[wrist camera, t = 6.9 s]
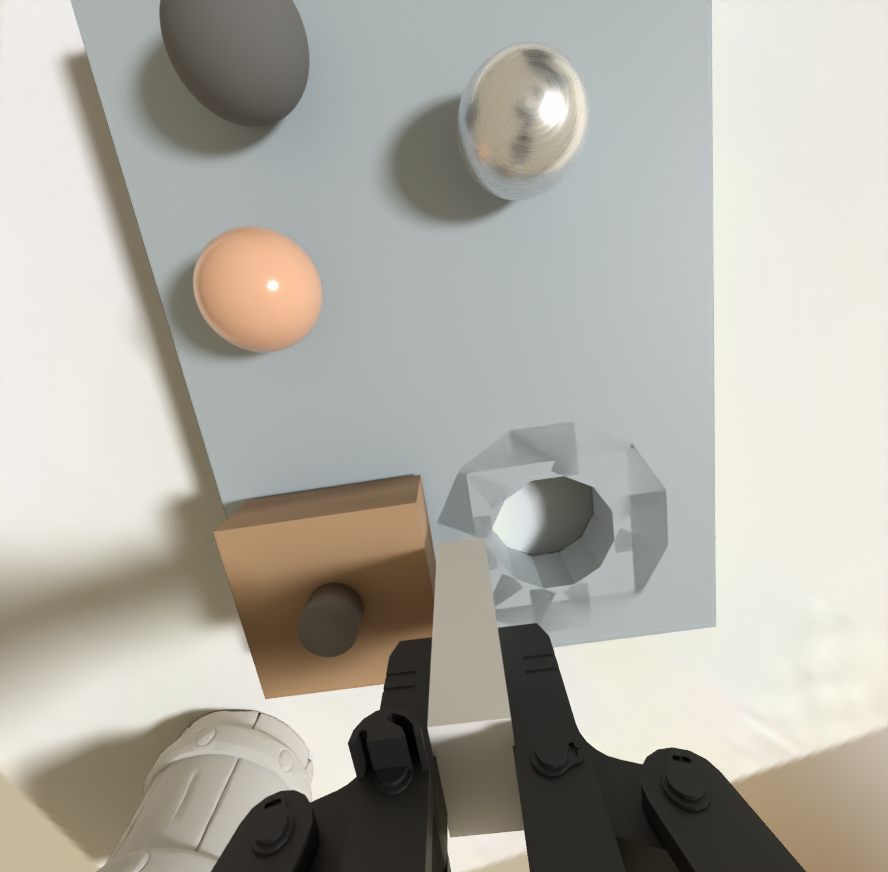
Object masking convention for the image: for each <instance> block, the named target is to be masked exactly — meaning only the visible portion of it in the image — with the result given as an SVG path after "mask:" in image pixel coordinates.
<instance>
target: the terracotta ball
mask: <svg viewBox="0 0 888 872" xmlns="http://www.w3.org/2000/svg"><path fill="white" fill-rule="evenodd" d="M193 292H194V296H195V300H196V303H197V306H198V308H199V310H200V312H201V314H202V316H203V318H204V319H205V321H206V322H207V324H208V325H209V326H210V327H211V328H212V329H213V330H214V331H215V332H216V333H217V334H218V335H219V336H221V337H222V338H223V339H224V340H226V341H228V342H229V343H231V344H233V345H235V346H237V347H239V348H242V349H246V350H249V351H254V352H277V351H281V350H284V349H287V348H290V347H292V346H294V345H296V344H297V343H299V342H300V341H302V340H303V339H304V338H305V337H306V336H307V335H308V334H309V333H310V332H311V330H312V329H313V328H314V326H315V324H316V323H317V321H318V318H319V316H320V313H321V309H322V302H323V290H322V283H321V280H320V276H319V274H318V271H317V269H316V267H315V265H314V263H313V261H312V260H311V258H310V257H309V256H308V254H307V253H306V252H305V251H304V250H303V249H302V248H301V246H299V245H298V244H297V243H296V242H295V241H293V240H292V239H290V238H289V237H287V236H286V235H284V234H282V233H280V232H278V231H275V230H272V229H269V228H265V227H259V226H243V227H237V228H233V229H230V230H227V231H225V232H223V233H221V234H219V235H218V236H216V237H215V238H213V239H212V240H211V241H210V242H209V243H208V244H207V245H206V246H205V247H204V249H203V250H202V252H201V253H200V255H199V257H198V259H197V262H196V265H195V268H194V273H193Z"/></svg>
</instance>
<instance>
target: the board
mask: <svg viewBox="0 0 888 872" xmlns="http://www.w3.org/2000/svg"><path fill="white" fill-rule="evenodd" d="M293 2H294V4H295V6H296V8H297V10H298V12H299V14H300V17H301V19H302V22H303V25H304V28H305V31H306V35H307V40H308V47H309V59H310V64H309V75H308V80H307V85H306V88H305V91H304V93H303V95H302V97H301V99H300V101H299V102H298V104H297V106H296V107H295V108H294V109H293V110H292V111H291V112H290V113H289V114H288V115H287V116H286V117H285V118H283V119H281V120H280V121H278V122H276V123H273V124H270V125H267V126H260V127H251V126H242V125H238V124H235V123H232V122H229V121H227V120H225V119H223V118H221V117H219V116H217V115H216V114H214V113H213V112H211V111H210V110H208V109H207V108H206V107H205V106H203V105H202V104H201V103H200V102H199V101H198V100H197V99H196V98H195V97H194V96H193V95H192V94H191V93H190V91H189V90H188V89H187V88H186V86H185V85H184V84H183V82H182V81H181V79H180V78H179V76H178V75H177V73H176V71H175V69H174V68H173V65H172V63H171V61H170V59H169V56H168V54H167V51H166V48H165V45H164V42H163V37H162V33H161V27H160V18H159V6H160V0H71V4H72V7H73V10H74V14H75V17H76V20H77V23H78V27H79V30H80V33H81V37H82V40H83V43H84V47H85V50H86V53H87V57H88V60H89V63H90V67H91V70H92V73H93V76H94V80H95V83H96V86H97V90H98V93H99V96H100V100H101V103H102V106H103V110H104V113H105V116H106V120H107V123H108V126H109V129H110V133H111V136H112V139H113V143H114V146H115V149H116V153H117V156H118V159H119V163H120V166H121V169H122V172H123V176H124V179H125V182H126V186H127V189H128V192H129V196H130V199H131V202H132V206H133V209H134V212H135V216H136V219H137V222H138V225H139V229H140V232H141V235H142V239H143V242H144V245H145V249H146V252H147V255H148V259H149V262H150V265H151V269H152V272H153V275H154V278H155V282H156V285H157V288H158V292H159V295H160V298H161V302H162V305H163V308H164V312H165V315H166V318H167V322H168V325H169V328H170V331H171V335H172V338H173V341H174V345H175V348H176V351H177V355H178V358H179V361H180V365H181V368H182V371H183V375H184V378H185V381H186V384H187V388H188V391H189V394H190V398H191V401H192V404H193V408H194V411H195V414H196V418H197V421H198V424H199V427H200V431H201V434H202V437H203V441H204V444H205V447H206V451H207V454H208V457H209V461H210V464H211V467H212V471H213V474H214V477H215V480H216V484H217V487H218V490H219V494H220V497H221V500H222V504H223V507H224V510H225V514H226V517H227V519H228V518H229V517H230V516H231V515H232V514H233V513H234V512H235V511H236V510H237V509H238V508H239V507H241V506H242V505H243V504H244V503H245V502H246V501H247V500H253V499H260V498H267V497H274V496H280V495H287V494H294V493H301V492H308V491H314V490H321V489H328V488H335V487H342V486H348V485H355V484H362V483H369V482H376V481H382V480H389V479H396V478H403V477H410V476H417V475H421V479H422V485H423V490H424V496H425V501H426V507H427V512H428V518H429V524H430V529H431V535H432V540H433V546H434V551H435V557H436V560H437V544H441V543H449V542H456V541H464V540H471V539H479V538H484V539H485V545H486V552H487V559H488V566H489V572H490V579H491V586H492V593H493V599H494V606H495V613H496V620H497V627H498V628H499V627H507V626H515V625H524V624H532V623H537V624H538V625H539V626H540V627H541V628H542V629H543V630H544V631H545V632H546V633H547V634H548V635H549V637H550V640H551V643H552V647H560V646H567V645H575V644H583V643H591V642H599V641H606V640H614V639H622V638H630V637H638V636H646V635H653V634H661V633H669V632H677V631H685V630H692V629H700V628H708V627H716V582H715V434H714V286H713V138H712V0H293ZM524 41H536V42H542V43H546V44H549V45H551V46H554V47H555V48H557V49H559V50H560V51H562V52H563V53H564V54H566V55H567V56H568V57H569V58H570V59H571V60H572V61H573V63H574V64H575V65H576V67H577V68H578V69H579V71H580V73H581V75H582V77H583V79H584V82H585V84H586V87H587V91H588V95H589V102H590V126H589V131H588V136H587V140H586V143H585V146H584V149H583V151H582V154H581V156H580V158H579V160H578V161H577V163H576V164H575V166H574V168H573V169H572V171H571V172H570V173H569V174H568V176H567V177H566V178H565V179H564V180H563V181H562V182H561V183H560V184H558V185H557V186H556V187H554V188H553V189H552V190H550V191H549V192H547V193H545V194H543V195H541V196H538V197H536V198H532V199H528V200H519V201H516V200H506V199H502V198H499V197H496V196H494V195H492V194H490V193H488V192H487V191H486V190H484V189H483V188H482V187H481V186H479V185H478V184H477V183H476V182H475V180H474V179H473V178H472V177H471V175H470V174H469V172H468V170H467V169H466V167H465V165H464V163H463V160H462V158H461V155H460V151H459V147H458V141H457V116H458V110H459V105H460V102H461V98H462V95H463V93H464V90H465V88H466V86H467V84H468V82H469V80H470V79H471V77H472V75H473V74H474V72H475V71H476V70H477V68H478V67H479V66H480V65H481V64H482V63H483V62H484V61H485V60H486V59H487V58H488V57H490V56H491V55H492V54H493V53H495V52H496V51H498V50H499V49H501V48H503V47H505V46H508V45H510V44H514V43H517V42H524ZM243 226H259V227H265V228H269V229H272V230H275V231H278V232H280V233H282V234H284V235H286V236H287V237H289V238H290V239H292V240H293V241H295V242H296V243H297V244H298V245H299V246H301V248H302V249H303V250H304V251H305V252H306V253H307V254H308V256H309V257H310V258H311V260H312V261H313V263H314V265H315V267H316V269H317V271H318V274H319V276H320V280H321V283H322V290H323V302H322V309H321V313H320V316H319V318H318V321H317V323H316V324H315V326H314V328H313V329H312V330H311V332H310V333H309V334H308V335H307V336H306V337H305V338H304V339H303V340H302V341H300V342H299V343H297V344H296V345H294V346H292V347H290V348H287V349H284V350H281V351H277V352H254V351H249V350H246V349H242V348H239V347H237V346H235V345H233V344H231V343H229V342H228V341H226V340H224V339H223V338H222V337H221V336H219V335H218V334H217V333H216V332H215V331H214V330H213V329H212V328H211V327H210V326H209V325H208V324H207V322H206V321H205V319H204V318H203V316H202V314H201V312H200V310H199V308H198V306H197V303H196V300H195V296H194V292H193V273H194V268H195V265H196V262H197V259H198V257H199V255H200V253H201V252H202V250H203V249H204V247H205V246H206V245H207V244H208V243H209V242H210V241H211V240H212V239H213V238H215V237H216V236H218V235H219V234H221V233H223V232H225V231H227V230H230V229H233V228H237V227H243ZM562 476H565V477H568V478H570V479H573V480H576V481H578V482H581V483H584V484H586V485H589V486H592V497H593V509H594V513H593V515H592V517H591V519H590V521H589V523H588V525H587V527H586V529H585V531H584V533H583V535H582V537H580V538H579V539H577V540H576V541H574V542H573V543H571V544H570V545H569V546H567V547H566V548H564V549H563V550H561V551H560V552H556V553H549V554H541V555H534V556H531V555H528V554H525V553H523V552H520V551H517V550H514V549H511V548H508V547H506V545H505V544H504V543H503V542H502V541H501V540H500V538H499V537H498V536H497V535H496V534H495V533H494V531H493V530H492V527H493V525H494V522H495V520H496V518H497V516H498V513H499V511H500V509H501V507H502V505H503V502H504V500H505V499H507V498H508V497H510V496H511V495H512V494H514V493H515V492H516V491H518V490H519V489H521V488H522V487H523V486H525V485H526V484H527V483H529V482H530V481H534V480H541V479H548V478H555V477H562Z"/></svg>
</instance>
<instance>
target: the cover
mask: <svg viewBox="0 0 888 872" xmlns="http://www.w3.org/2000/svg"><path fill="white" fill-rule="evenodd" d="M213 533H214V536H215V540H216V543H217V546H218V549H219V552H220V555H221V559H222V562H223V565H224V568H225V571H226V575H227V578H228V581H229V584H230V587H231V591H232V594H233V597H234V600H235V603H236V607H237V610H238V613H239V616H240V619H241V623H242V626H243V629H244V632H245V635H246V639H247V642H248V645H249V648H250V651H251V655H252V658H253V661H254V664H255V667H256V671H257V674H258V677H259V680H260V683H261V687H262V690H263V693H264V696H265V699H270V698H278V697H286V696H293V695H301V694H309V693H317V692H325V691H333V690H341V689H349V688H357V687H365V686H373V685H380V684H384V683H385V678H386V672H387V666H388V661H389V656H390V655H391V653H392V652H393V650H394V649H395V647H396V646H397V644H398V643H399V641H404V640H412V639H421V638H429V637H432V633H433V615H434V596H435V578H436V557H435V551H434V546H433V540H432V535H431V529H430V524H429V518H428V512H427V507H426V501H425V496H424V490H423V485H422V479H421V475H417V476H410V477H403V478H396V479H389V480H382V481H376V482H369V483H362V484H355V485H348V486H342V487H335V488H328V489H321V490H314V491H308V492H301V493H294V494H287V495H280V496H274V497H267V498H260V499H253V500H247V501H246V502H245V503H244V504H243V505H242V506H241V507H239V508H238V509H237V510H236V511H235V512H234V513H233V514H232V515H231V516H230V517H229V518H228V519H227V520H225V521H224V522H223V523H222V524H221V525H220V526H219V527H218V528H217V529H216V530H215V531H214V532H213Z"/></svg>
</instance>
